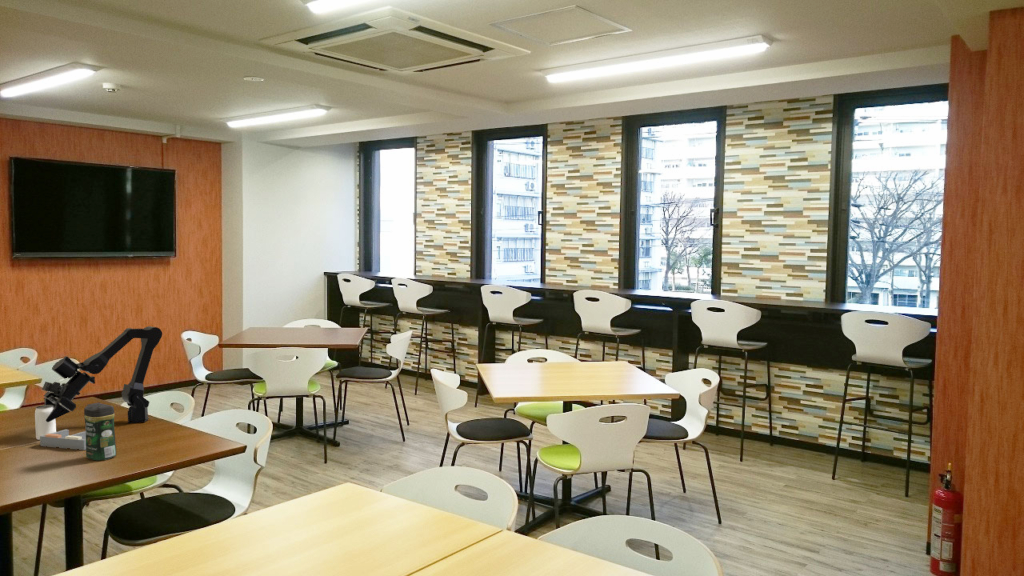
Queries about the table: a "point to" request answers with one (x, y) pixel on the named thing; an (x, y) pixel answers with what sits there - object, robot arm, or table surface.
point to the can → (44, 421)
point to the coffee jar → (99, 431)
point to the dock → (64, 440)
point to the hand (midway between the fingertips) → (42, 419)
